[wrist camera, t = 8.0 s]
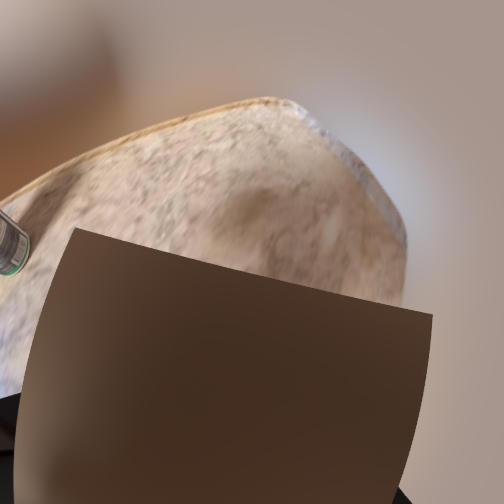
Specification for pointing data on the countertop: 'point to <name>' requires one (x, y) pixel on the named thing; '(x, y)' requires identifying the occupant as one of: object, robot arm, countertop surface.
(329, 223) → the countertop surface
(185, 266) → the brown wooden block
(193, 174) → the countertop surface
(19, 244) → the pill bottle
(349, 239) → the countertop surface
